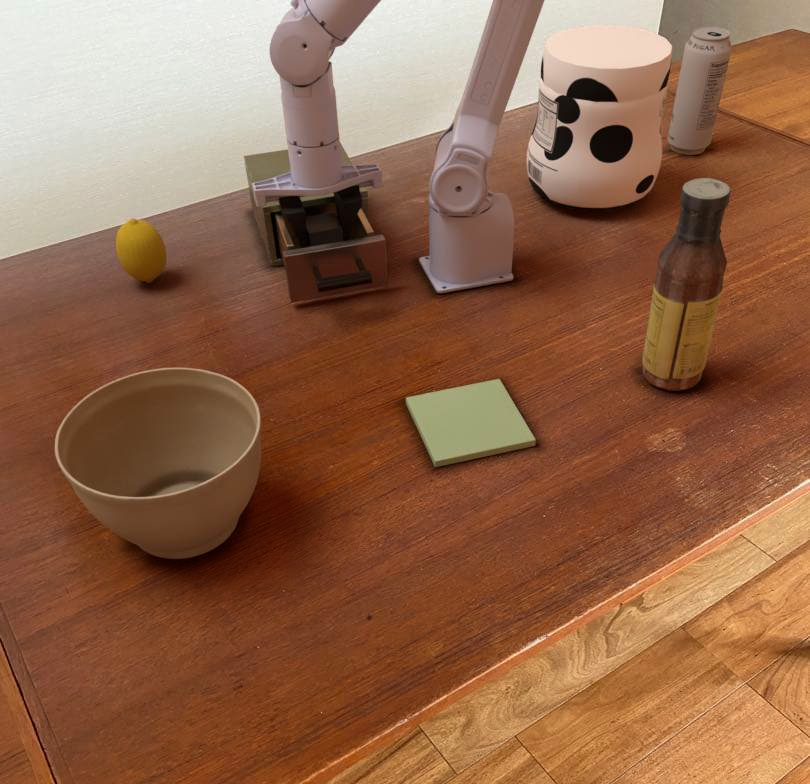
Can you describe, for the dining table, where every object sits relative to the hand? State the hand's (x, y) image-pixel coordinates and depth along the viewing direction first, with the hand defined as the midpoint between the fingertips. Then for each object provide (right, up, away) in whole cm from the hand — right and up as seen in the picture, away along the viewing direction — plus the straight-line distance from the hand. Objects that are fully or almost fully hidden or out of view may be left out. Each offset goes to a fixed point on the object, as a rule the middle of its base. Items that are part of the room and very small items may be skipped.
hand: (325, 252), depth 104 cm
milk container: (+34, +12, +13) cm, 39 cm away
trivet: (+16, -23, -19) cm, 34 cm away
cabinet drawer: (+1, -3, -1) cm, 3 cm away
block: (0, 0, 0) cm, 0 cm away
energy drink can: (+50, +22, +22) cm, 59 cm away
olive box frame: (-3, +5, +8) cm, 10 cm away
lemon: (-21, -3, +1) cm, 22 cm away
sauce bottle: (+37, -18, -14) cm, 43 cm away
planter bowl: (-10, -33, -27) cm, 43 cm away
